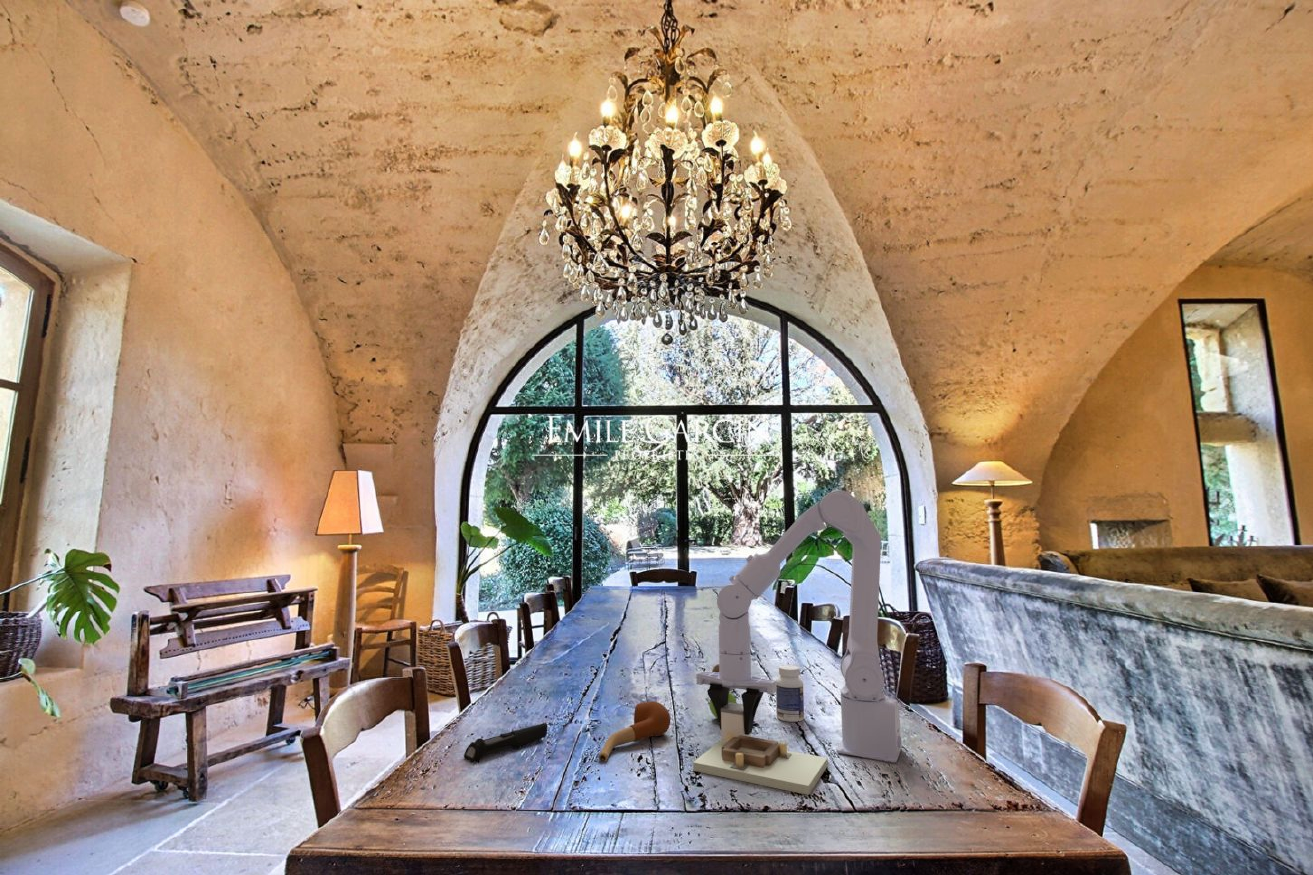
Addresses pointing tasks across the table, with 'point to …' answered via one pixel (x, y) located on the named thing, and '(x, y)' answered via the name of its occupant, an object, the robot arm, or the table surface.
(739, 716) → the plug block
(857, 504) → the robot arm
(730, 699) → the snail figurine
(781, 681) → the pill bottle
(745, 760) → the socket collar
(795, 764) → the board
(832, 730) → the table surface
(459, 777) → the table surface
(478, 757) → the electric trimmer
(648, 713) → the smoking pipe
